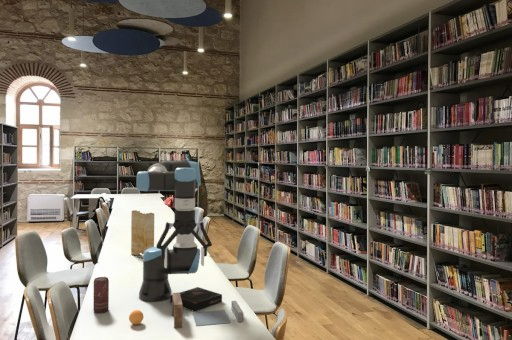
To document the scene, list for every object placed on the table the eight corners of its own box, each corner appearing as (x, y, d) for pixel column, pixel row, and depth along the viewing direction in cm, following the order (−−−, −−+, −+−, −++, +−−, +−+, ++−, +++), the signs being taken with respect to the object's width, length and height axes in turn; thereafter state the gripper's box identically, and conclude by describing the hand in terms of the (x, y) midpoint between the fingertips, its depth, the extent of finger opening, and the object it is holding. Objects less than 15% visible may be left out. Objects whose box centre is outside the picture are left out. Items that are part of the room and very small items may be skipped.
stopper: (231, 309, 182) (231, 300, 182) (235, 309, 182) (236, 300, 182) (238, 322, 168) (238, 312, 168) (242, 321, 169) (243, 312, 169)
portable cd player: (196, 294, 203) (196, 286, 203) (221, 303, 192) (222, 294, 192) (170, 303, 190) (170, 295, 190) (195, 313, 179) (195, 303, 179)
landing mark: (192, 312, 178) (192, 312, 178) (224, 310, 181) (224, 309, 181) (196, 325, 164) (196, 325, 164) (230, 322, 168) (230, 322, 168)
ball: (129, 321, 167) (129, 308, 167) (143, 320, 168) (143, 307, 168) (128, 327, 162) (128, 313, 161) (143, 326, 163) (143, 312, 163)
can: (110, 307, 182) (110, 276, 181) (105, 313, 176) (106, 280, 175) (96, 307, 182) (96, 276, 181) (91, 313, 175) (91, 280, 175)
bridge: (174, 328, 162) (174, 304, 161) (172, 314, 176) (172, 292, 175) (182, 327, 162) (182, 304, 162) (179, 313, 176) (179, 292, 176)
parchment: (155, 259, 267) (156, 213, 266) (146, 261, 263) (147, 214, 262) (138, 253, 285) (138, 209, 284) (130, 254, 280) (130, 210, 279)
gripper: (150, 211, 146) (150, 270, 147) (220, 210, 153) (219, 266, 154) (149, 208, 154) (149, 265, 154) (216, 207, 161) (215, 261, 161)
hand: (184, 266), depth 154 cm, fingers open, 13 cm apart
